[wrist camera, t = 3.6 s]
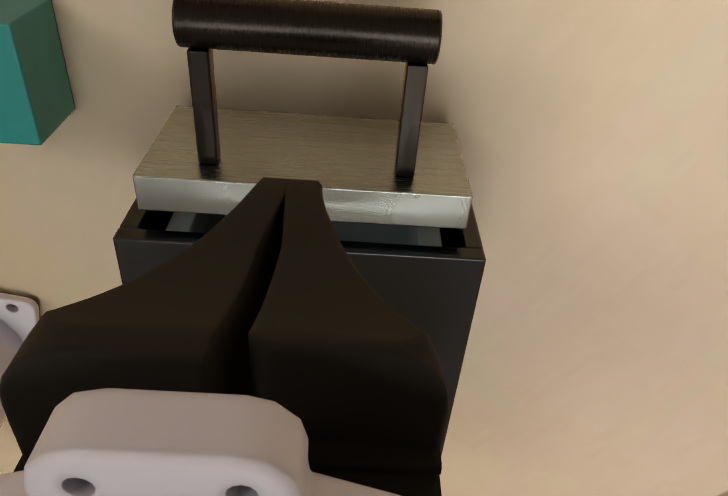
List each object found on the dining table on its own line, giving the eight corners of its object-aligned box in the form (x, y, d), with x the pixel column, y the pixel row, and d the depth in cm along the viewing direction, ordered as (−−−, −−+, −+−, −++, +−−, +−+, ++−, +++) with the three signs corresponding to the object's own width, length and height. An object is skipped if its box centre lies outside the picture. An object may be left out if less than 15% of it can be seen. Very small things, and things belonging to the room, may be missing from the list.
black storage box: (170, 137, 24) (111, 238, 18) (460, 156, 24) (486, 259, 19) (200, 374, 32) (165, 494, 26) (420, 385, 32) (430, 505, 27)
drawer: (158, -44, 19) (101, 0, 15) (477, -21, 20) (506, 29, 16) (204, 350, 29) (177, 440, 25) (415, 361, 30) (422, 451, 26)
